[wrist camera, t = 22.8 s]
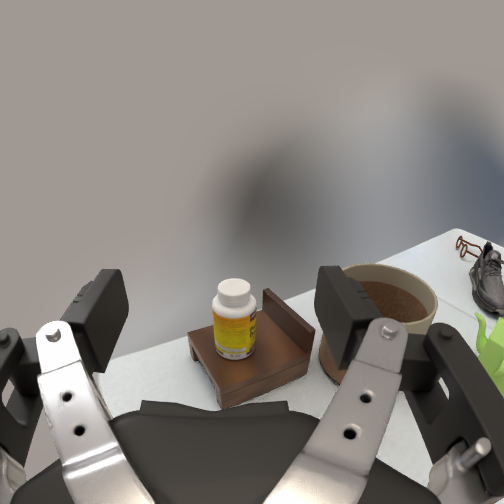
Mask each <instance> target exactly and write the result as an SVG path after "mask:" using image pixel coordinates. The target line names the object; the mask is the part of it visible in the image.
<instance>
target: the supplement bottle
mask: <svg viewBox="0 0 504 504" xmlns="http://www.w3.org/2000/svg"><path fill="white" fill-rule="evenodd" d="M212 311H213V325H214V337H215V347H216V350H217V352H218V353H219V354H220V355H221V356H223V357H224V358H227V359H231V360H239V359H243V358H246V357H248V356H249V355H250V354H251V353H252V352H253V351H254V348H255V334H256V300H255V298H254V297H253V296H252V295H251V292H250V285H249V283H248V282H246V281H245V280H242V279H227V280H224V281H222V282H221V283H220V284H219V285H218V295H216V296H215V297H214V299H213V302H212Z"/></svg>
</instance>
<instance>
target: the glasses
mask: <svg viewBox="0 0 504 504" xmlns="http://www.w3.org/2000/svg"><path fill="white" fill-rule="evenodd" d="M459 240H461V242H460V244H459V246H458V247H457V244H458V241H459ZM462 241H463V242H465V243H467V244H469V245H471V246H476V247H478V248H479V249H480V251H481V252H482V249H481V248H480V246H478V245H474V244H471V243H469V242H467V241H465V240H463V239H462V236H459V238H458V240H457V243H456V248H459V247H460V245H461V244H462V246H463V247H462V250H461V253H460V256H461V257H462V258H463V257H464V256H465V254H466V252H467V253H469V254H471V255H473V256H475V257H477V258H478V257H479V256H477V255H475V254H473V253H471V252H469V251H467V247H468V246H467V244H463V242H462ZM465 246H466V250H465V253H464V254H463V256H462V251H463V248H464V247H465Z"/></svg>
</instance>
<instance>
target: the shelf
mask: <svg viewBox="0 0 504 504" xmlns="http://www.w3.org/2000/svg"><path fill="white" fill-rule="evenodd" d="M315 331H316V330H315V329H314V328H313V327H312V326H311V325H309V324H308V323H307V322H306V321H305V320H304V319H303V318H302V317H300V316H299V315H298V314H297V313H296V312H295V311H294V310H292V309H291V308H290V307H289V306H288V305H287V304H286V303H285V302H283V301H282V300H281V299H280V298H279V297H278V296H277V295H276V294H274V293H273V292H272V291H271V290H270V289H269V288H267V289H264V290H263V306H262V310H260V311H257V312H256V334H255V348H254V351H253V352H252V353H251V354H250V355H249V356H248V357H246V358H243V359H239V360H231V359H227V358H224V357H223V356H221V355H220V354H219V353H218V352H217V350H216V347H215V337H214V325H212V326H208V327H205V328H201V329H198V330H194V331H191V332H188V340H189V346H190V352H191V356H192V358H193V360H194V361H196V360H200V361H201V363H202V365H203V367H204V368H205V370H206V372H207V374H208V375H209V377H210V379H211V381H212V382H213V384H214V386H215V387H216V393H217V401H218V404H219V406H220V407H221V409H222V410H224V409H227V408H229V407H232V406H234V405H237V404H240V403H242V402H245V401H247V400H250V399H252V398H254V397H257V396H259V395H262V394H264V393H266V392H268V391H271V390H273V389H275V388H277V387H280V386H282V385H284V384H286V383H288V382H291V381H293V380H295V379H297V378H299V377H301V376H303V375H305V374H307V370H308V365H309V361H310V355H311V351H312V346H313V341H314V336H315Z"/></svg>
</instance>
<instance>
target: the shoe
mask: <svg viewBox="0 0 504 504" xmlns="http://www.w3.org/2000/svg"><path fill="white" fill-rule="evenodd" d="M501 264H504V261H503V260H501V254H500V253H499V252H498V251H496V250H493V247H492V245H491V242H488V241H487V243H486V244H485V245H484V248H483V251H482V253H481V254H480V255H479V257H478V259H477V261H476V262H475V264H474V267H472V268H471V270H470V276H471V279H472V281H473V297H474V299H475V301H476V302H477V303H478V304H479V305H480V306H481V307H483V308H484V309H486V310H488V311H491V312H493V313H496V314H502V315H503V314H504V285H503V282H502V278H501V277H502V275H501V268H502V267H501Z"/></svg>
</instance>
